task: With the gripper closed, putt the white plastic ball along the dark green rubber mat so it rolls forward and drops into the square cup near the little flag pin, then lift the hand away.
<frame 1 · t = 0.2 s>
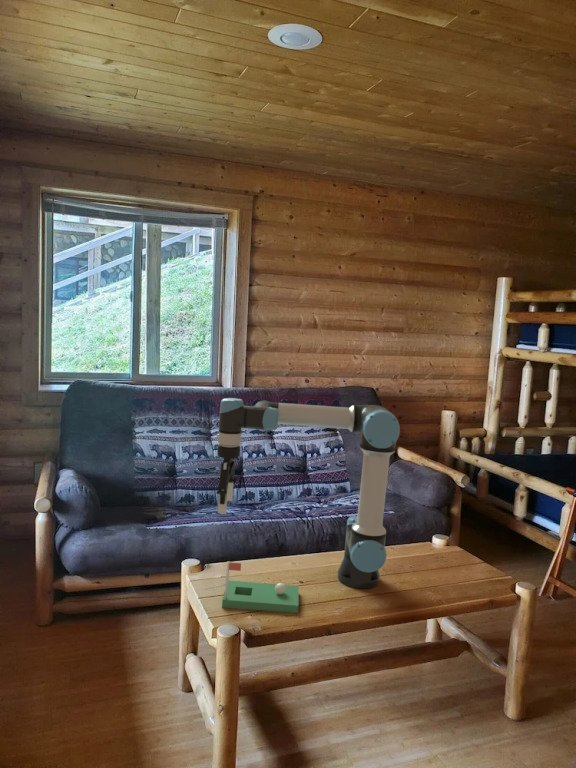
hand: (225, 506, 198), 27 cm above the table, fingers open, 13 cm apart
ball: (280, 588, 192), point 4 cm above the table, touching green
pin: (225, 606, 186), resting on green
green: (261, 599, 192), on the table
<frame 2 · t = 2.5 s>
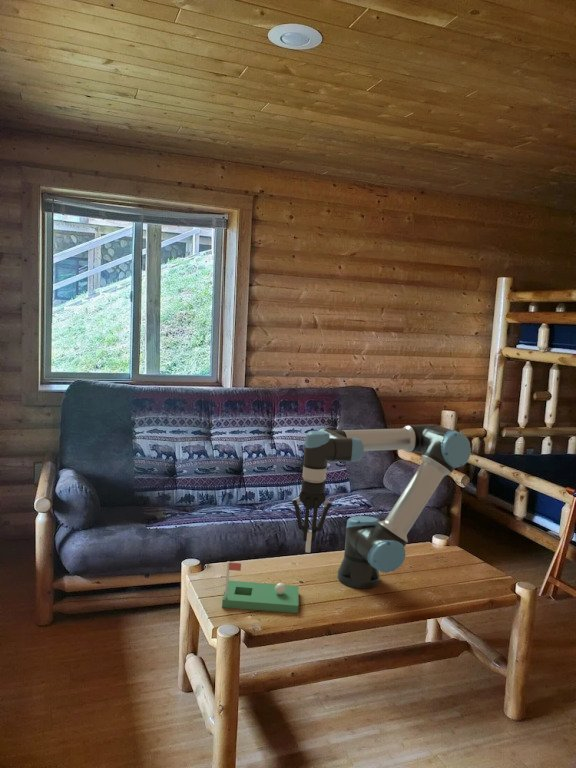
hand: (307, 550, 190), 18 cm above the table, fingers closed
nothing on the table moved.
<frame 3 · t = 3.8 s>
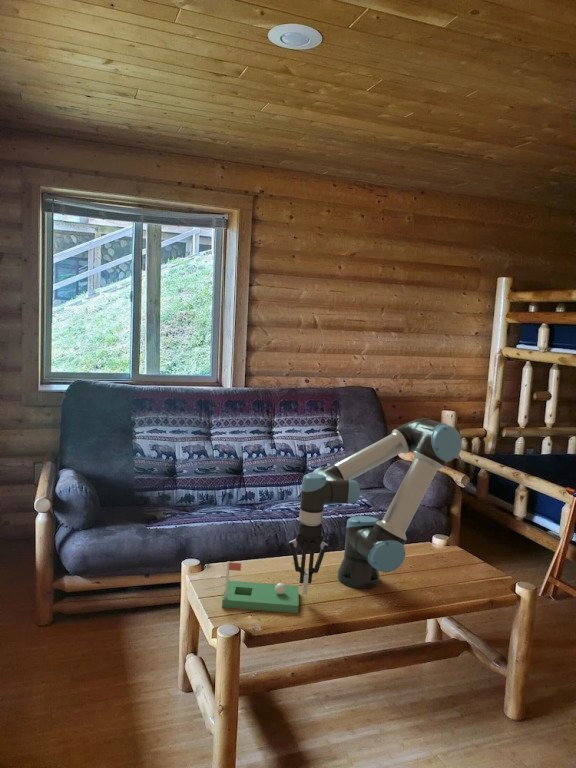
hand: (304, 592, 192), 4 cm above the table, fingers closed
nothing on the table moved.
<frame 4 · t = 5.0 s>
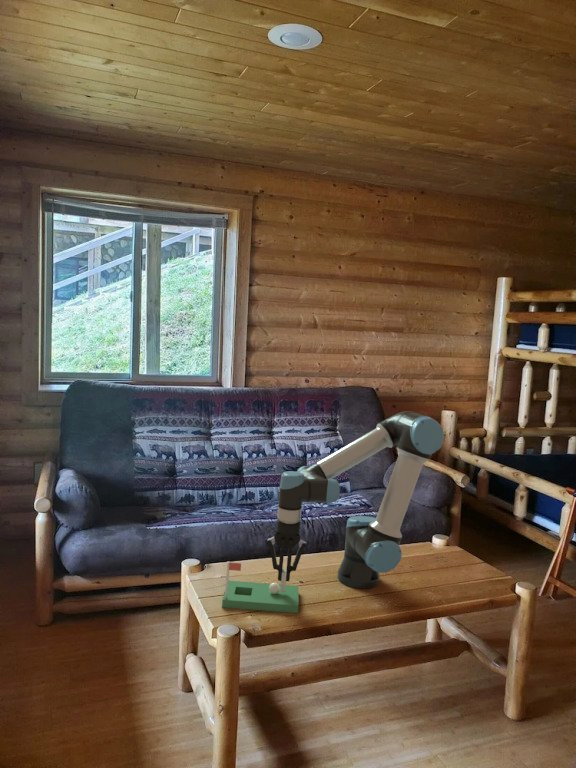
hand: (282, 589, 192), 4 cm above the table, fingers closed
ball: (274, 588, 192), point 4 cm above the table, tilted 60°, touching green
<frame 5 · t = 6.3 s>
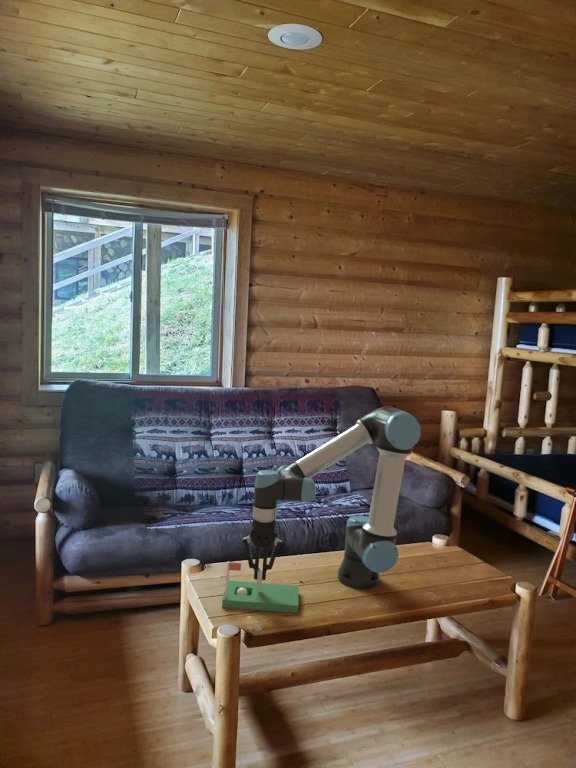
hand: (259, 588, 192), 4 cm above the table, fingers closed
ball: (241, 593, 192), point 2 cm above the table, tilted 61°
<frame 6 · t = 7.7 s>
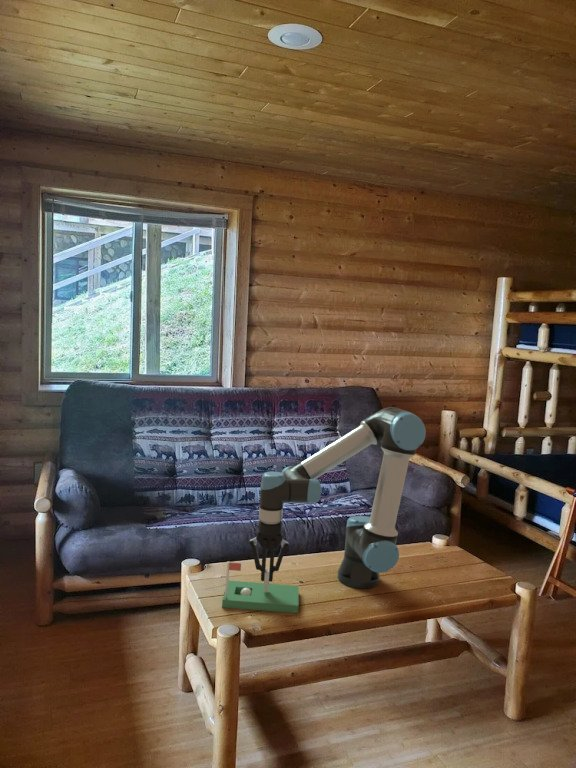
hand: (266, 590, 192), 3 cm above the table, fingers closed
ball: (245, 593, 192), point 2 cm above the table, tilted 18°
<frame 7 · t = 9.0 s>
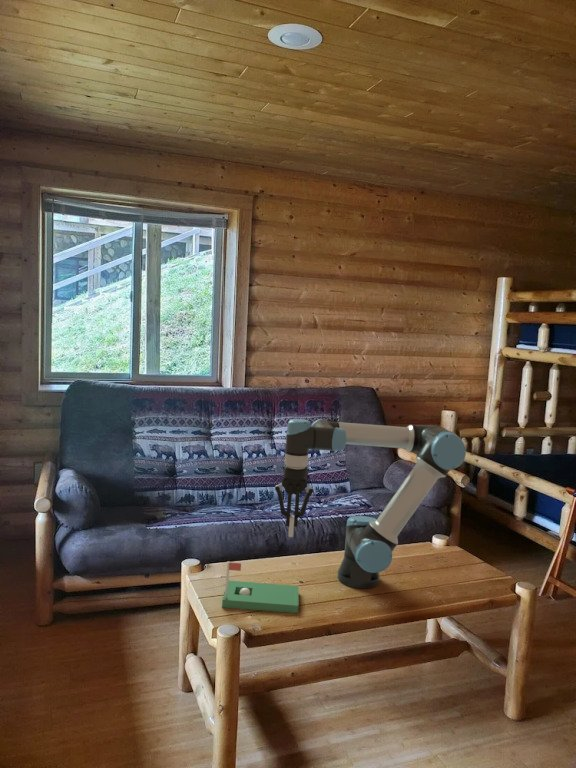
hand: (290, 535, 196), 20 cm above the table, fingers closed
ball: (244, 593, 192), point 2 cm above the table, tilted 30°
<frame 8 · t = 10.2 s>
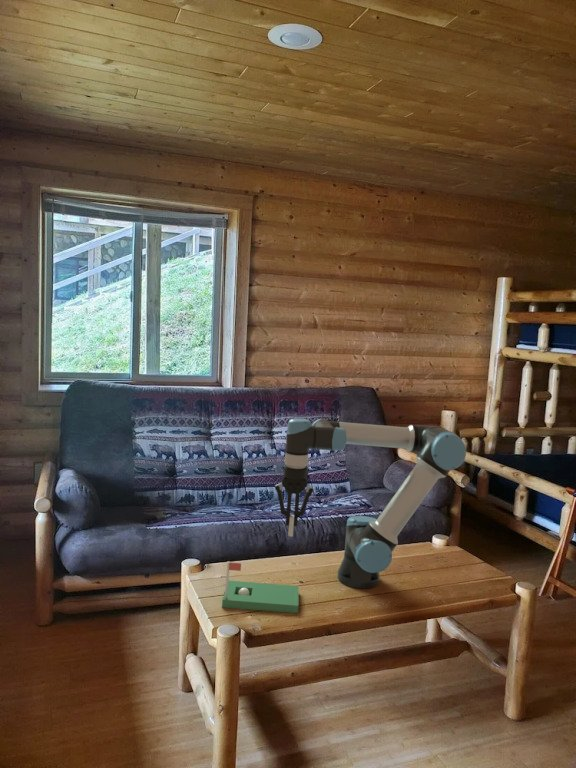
hand: (290, 534, 196), 20 cm above the table, fingers closed
ball: (243, 593, 192), point 2 cm above the table, tilted 41°
at the end: ball 0.2 cm from the target spot on the green, point 1.8 cm above the green's base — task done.
